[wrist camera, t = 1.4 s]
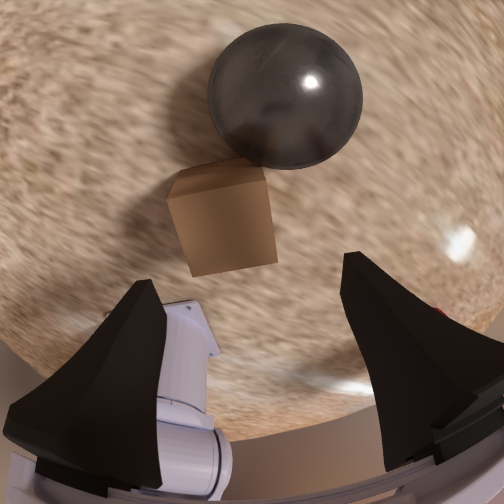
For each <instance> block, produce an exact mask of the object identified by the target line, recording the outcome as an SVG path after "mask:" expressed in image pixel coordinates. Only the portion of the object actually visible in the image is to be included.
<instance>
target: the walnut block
mask: <svg viewBox="0 0 504 504" xmlns="http://www.w3.org/2000/svg"><path fill="white" fill-rule="evenodd" d="M166 201H167V204H168V207H169V210H170V213H171V216H172V219H173V222H174V225H175V228H176V231H177V234H178V237H179V240H180V243H181V246H182V249H183V252H184V255H185V257H186V260H187V263H188V266H189V269H190V271H191V274H192V277H198V276H204V275H210V274H216V273H221V272H227V271H233V270H238V269H244V268H250V267H255V266H261V265H267V264H272V263H278V259H277V251H276V244H275V237H274V230H273V223H272V216H271V209H270V203H269V196H268V189H267V183H266V178H265V176H264V173H263V170H262V168H261V165H258V164H256V163H253V162H251V161H249V160H247V159H246V158H244V157H241V158H235V159H230V160H225V161H220V162H215V163H210V164H205V165H201V166H196V167H192V168H188V169H183V170H181V171H180V173H179V175H178V177H177V179H176V181H175V183H174V185H173V187H172V189H171V191H170V193H169V195H168V197H167V199H166Z"/></svg>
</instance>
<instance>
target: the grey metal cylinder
mask: <svg viewBox="0 0 504 504" xmlns="http://www.w3.org/2000/svg"><path fill="white" fill-rule="evenodd" d="M362 104H363V92H362V85H361V81H360V77H359V74H358V72H357V70H356V67H355V65H354V63H353V62H352V60H351V59H350V57H349V56H348V54H347V53H346V52H345V51H344V50H343V49H342V48H341V47H340V46H339V45H338V44H337V43H336V42H335V41H334V40H332V39H331V38H329V37H328V36H326V35H325V34H323V33H321V32H319V31H317V30H314V29H312V28H309V27H306V26H301V25H297V24H288V23H281V24H270V25H265V26H261V27H258V28H255V29H252V30H250V31H248V32H246V33H244V34H243V35H241V36H239V37H238V38H236V39H235V40H234V41H233V42H232V43H230V44H229V45H228V46H227V47H226V49H225V50H224V51H223V52H222V53H221V55H220V56H219V58H218V59H217V61H216V63H215V65H214V67H213V69H212V72H211V76H210V79H209V85H208V105H209V111H210V114H211V117H212V120H213V123H214V125H215V127H216V129H217V131H218V132H219V134H220V135H221V137H222V138H223V139H224V141H225V142H226V143H227V144H228V145H229V146H230V147H231V148H232V149H233V150H234V151H235V152H237V153H238V154H239V155H241V156H242V157H244V158H246V159H247V160H249V161H251V162H253V163H256V164H258V165H261V166H264V167H268V168H272V169H279V170H294V169H302V168H307V167H310V166H313V165H316V164H319V163H321V162H323V161H325V160H327V159H328V158H330V157H331V156H333V155H334V154H336V153H337V152H338V151H339V150H340V149H341V148H342V147H343V146H344V145H345V144H346V143H347V142H348V140H349V139H350V138H351V136H352V135H353V133H354V131H355V129H356V127H357V125H358V122H359V120H360V116H361V112H362Z"/></svg>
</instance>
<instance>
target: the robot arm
mask: <svg viewBox="0 0 504 504" xmlns="http://www.w3.org/2000/svg"><path fill="white" fill-rule="evenodd" d="M340 296H341V300H342V303H343V307H344V310H345V314H346V317H347V319H348V322H349V324H350V327H351V329H352V331H353V334H354V336H355V339H356V341H357V343H358V346H359V348H360V351H361V353H362V356H363V358H364V361H365V363H366V366H367V369H368V372H369V376H370V380H371V384H372V388H373V392H374V396H375V401H376V406H377V411H378V416H379V423H380V429H381V436H382V445H383V456H384V465H385V470H386V472H389V473H386V474H383V475H380V476H377V477H374V478H371V479H368V480H364V481H361V482H358V483H354V484H350V485H346V486H342V487H338V488H333V489H329V490H325V491H319V492H314V493H309V494H302V495H296V496H289V497H281V498H271V499H259V500H242V501H241V500H240V501H220V498H221V495H222V493H223V491H224V489H225V488H226V486H227V485H228V483H229V480H230V476H231V471H232V451H231V447H230V443H229V441H228V439H227V438H226V436H225V434H224V433H223V431H222V430H221V429H219V428H216V427H214V417H213V416H211V415H207V414H206V383H207V358H210V357H217V356H219V355H220V350H219V348H218V346H217V343H216V341H215V339H214V337H213V334H212V332H211V330H210V328H209V325H208V323H207V321H206V318H205V316H204V314H203V311H202V309H201V307H200V304H199V303H198V302H197V301H194V300H193V301H186V302H180V303H173V304H167V305H162V303H161V301H160V299H159V296H158V294H157V292H156V290H155V287H154V285H153V283H152V280H151V279H146V280H138V281H136V282H135V283H134V284H133V285H132V287H131V288H130V289H129V290H128V291H127V293H126V294H125V295H124V296H123V298H122V299H121V300H120V301H119V303H118V304H117V305H116V307H115V308H114V309H113V310H112V312H110V313H107V315H106V319H105V320H104V322H103V323H102V324H101V325H100V326H99V328H98V329H97V330H96V331H95V332H94V334H93V335H92V336H91V337H90V338H89V340H88V341H87V342H86V343H85V344H84V345H83V346H82V347H81V348H80V349H79V350H78V351H77V352H76V353H75V354H74V356H73V357H72V358H71V359H70V360H69V361H67V362H66V363H65V364H64V365H63V366H62V367H61V368H60V369H59V370H58V371H56V372H55V373H54V374H53V375H52V376H51V377H50V378H48V379H47V380H46V381H45V382H43V383H42V384H41V385H40V386H38V387H37V388H36V389H34V390H33V391H31V392H30V393H29V394H27V395H25V396H24V397H22V398H21V399H19V400H18V401H16V402H15V403H13V404H11V405H10V407H9V410H8V414H7V418H6V421H5V425H4V428H3V435H4V436H5V437H6V438H8V439H9V440H10V441H12V442H13V443H15V444H17V445H18V446H20V447H22V448H23V449H25V450H27V451H29V452H30V453H32V454H34V455H36V456H38V457H37V462H36V461H34V460H32V459H29V458H27V457H25V456H23V455H21V454H19V453H16V452H15V451H13V452H12V456H11V461H10V466H9V472H8V478H7V486H6V494H5V500H6V502H8V503H9V504H348V503H351V502H355V501H359V500H362V499H365V498H369V497H372V496H375V495H378V494H381V493H384V492H387V491H390V490H393V489H395V488H398V487H399V488H398V489H397V490H396V492H395V494H394V495H393V496H390V497H387V498H383V499H380V500H377V501H374V502H371V503H368V504H486V503H488V501H490V500H491V499H492V498H493V497H494V496H495V495H497V494H498V493H499V492H500V491H501V490H502V489H503V488H504V409H503V407H502V406H503V405H504V396H503V394H504V343H502V342H499V341H496V340H494V339H491V338H489V337H486V336H484V335H482V334H480V333H477V332H475V331H473V330H471V329H469V328H467V327H465V326H463V325H461V324H459V323H458V322H456V321H454V320H452V319H450V318H449V317H447V316H445V315H443V314H442V313H440V312H439V311H437V310H436V309H434V308H432V307H431V306H429V305H428V304H426V303H425V302H423V301H422V300H421V299H419V298H418V297H416V296H415V295H414V294H412V293H411V292H410V291H408V290H407V289H406V288H404V287H403V286H402V285H401V284H399V283H398V282H397V281H395V280H394V279H393V278H392V277H391V276H389V275H388V274H387V273H386V272H384V271H383V270H382V269H381V268H380V267H378V266H377V265H376V264H375V263H374V262H372V261H371V260H370V259H369V258H367V257H366V256H365V255H364V254H362V253H361V252H360V251H357V252H350V253H344V261H343V270H342V280H341V288H340ZM186 306H189V307H186ZM413 462H414V463H413ZM411 463H413V464H411ZM409 464H410V465H409ZM406 465H408V466H406ZM403 466H405V467H403ZM400 467H403V468H400ZM398 468H400V469H398ZM395 469H397V470H395ZM393 470H395V471H393ZM390 471H392V472H390Z"/></svg>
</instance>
